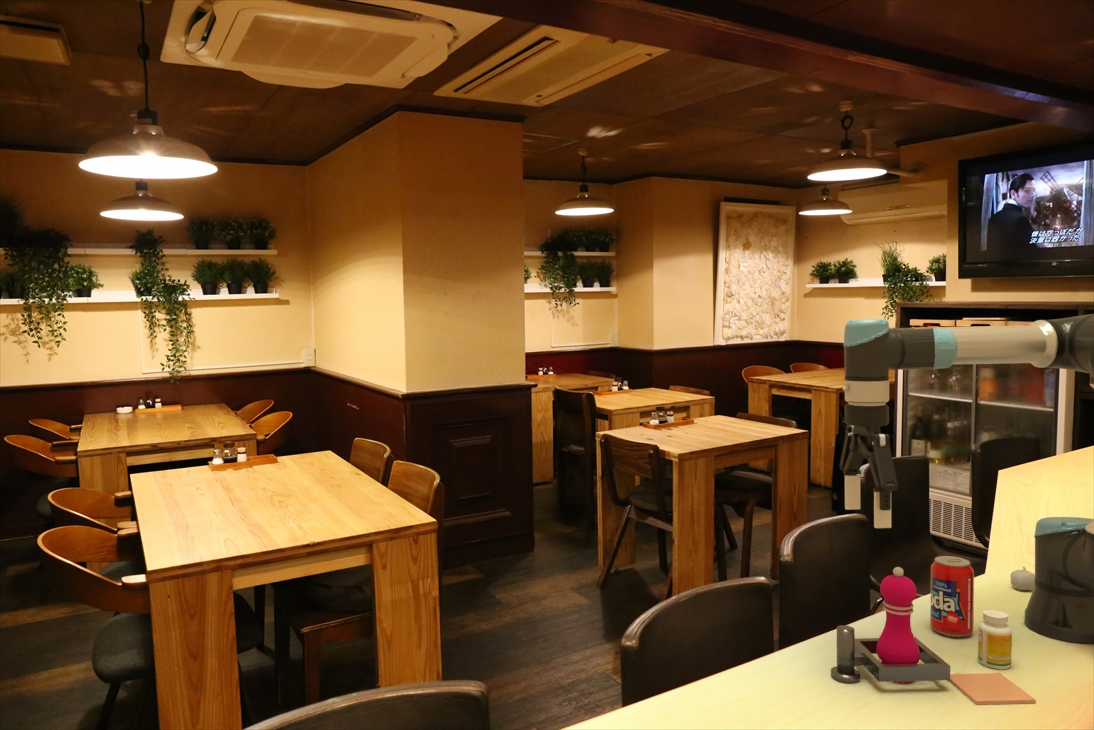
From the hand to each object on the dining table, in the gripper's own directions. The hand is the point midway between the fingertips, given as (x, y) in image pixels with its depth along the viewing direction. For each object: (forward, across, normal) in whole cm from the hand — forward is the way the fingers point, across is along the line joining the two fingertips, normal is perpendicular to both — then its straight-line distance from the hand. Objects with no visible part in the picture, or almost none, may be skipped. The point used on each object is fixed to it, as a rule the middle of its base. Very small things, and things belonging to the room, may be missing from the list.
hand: (867, 518), depth 143 cm
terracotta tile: (+28, +10, +17) cm, 34 cm away
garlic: (+29, -40, +53) cm, 72 cm away
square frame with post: (+28, +4, +1) cm, 28 cm away
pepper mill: (+28, +4, +4) cm, 29 cm away
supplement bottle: (+28, 0, +24) cm, 37 cm away
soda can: (+28, -15, +23) cm, 40 cm away
